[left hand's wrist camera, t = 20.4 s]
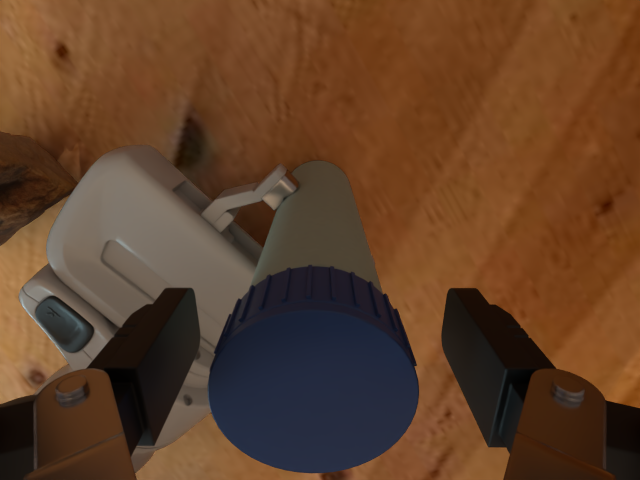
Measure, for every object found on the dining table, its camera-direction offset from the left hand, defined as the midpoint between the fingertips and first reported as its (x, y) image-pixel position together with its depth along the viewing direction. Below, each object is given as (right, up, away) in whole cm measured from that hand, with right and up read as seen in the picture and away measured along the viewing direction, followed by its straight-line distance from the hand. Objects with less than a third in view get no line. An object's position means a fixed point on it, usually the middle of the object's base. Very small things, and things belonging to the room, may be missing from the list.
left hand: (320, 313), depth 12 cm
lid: (0, -2, -2) cm, 3 cm away
